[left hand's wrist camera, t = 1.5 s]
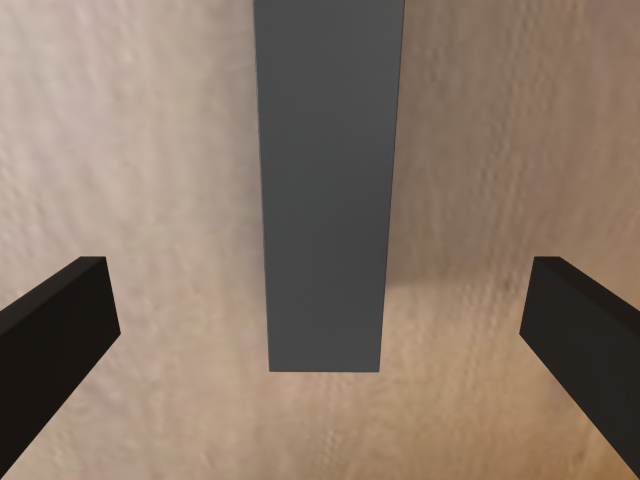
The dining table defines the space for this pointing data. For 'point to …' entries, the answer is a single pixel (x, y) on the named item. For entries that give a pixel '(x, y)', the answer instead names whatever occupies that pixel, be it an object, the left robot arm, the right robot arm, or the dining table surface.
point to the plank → (326, 175)
